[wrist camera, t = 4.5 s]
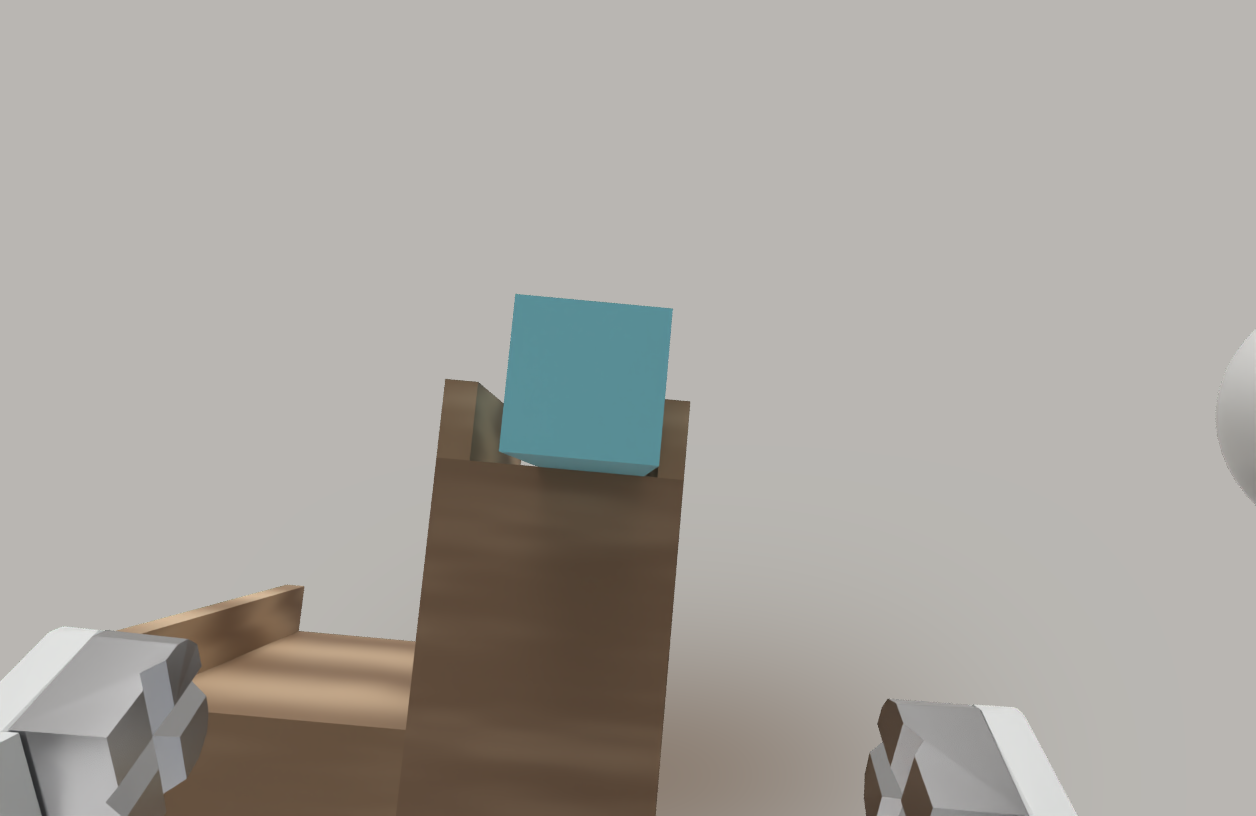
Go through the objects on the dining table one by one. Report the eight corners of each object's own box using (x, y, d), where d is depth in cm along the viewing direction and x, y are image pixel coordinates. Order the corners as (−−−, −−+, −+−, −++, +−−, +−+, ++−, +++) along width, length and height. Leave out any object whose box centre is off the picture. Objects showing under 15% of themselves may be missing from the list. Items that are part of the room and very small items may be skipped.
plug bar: (561, 476, 38) (569, 403, 39) (634, 482, 38) (641, 410, 39) (498, 451, 17) (515, 294, 18) (659, 466, 17) (672, 308, 18)
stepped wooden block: (219, 1103, 37) (310, 401, 40) (603, 1136, 37) (664, 434, 40) (-16, 1466, 23) (150, 351, 26) (596, 1517, 23) (690, 401, 27)
